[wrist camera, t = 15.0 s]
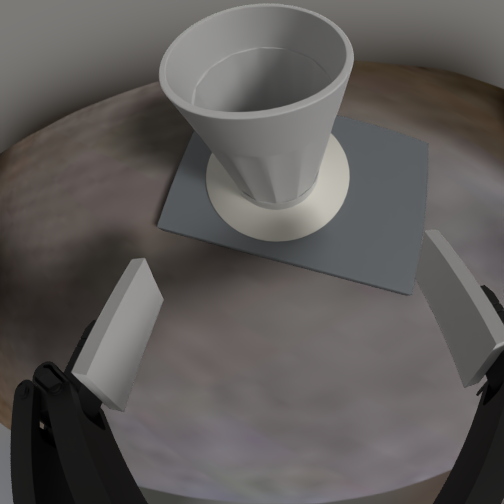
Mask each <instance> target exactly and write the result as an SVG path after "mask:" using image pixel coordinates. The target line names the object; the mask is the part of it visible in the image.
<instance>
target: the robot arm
mask: <svg viewBox="0 0 504 504" xmlns="http://www.w3.org/2000/svg"><path fill="white" fill-rule="evenodd" d="M415 279H416V281H417V282H418V284H419V286H420V288H421V290H422V292H423V294H424V296H425V298H426V300H427V302H428V304H429V306H430V308H431V310H432V312H433V314H434V316H435V318H436V320H437V323H438V325H439V327H440V329H441V331H442V334H443V336H444V338H445V340H446V343H447V345H448V347H449V350H450V352H451V355H452V357H453V360H454V362H455V365H456V367H457V370H458V372H459V375H460V378H461V381H462V383H463V386H464V388H466V387H469V386H471V385H474V384H477V383H479V382H480V380H481V379H482V378H483V377H484V375H485V374H486V377H487V379H488V380H487V381H486V383H485V384H484V385H483V386H482V387H481V388H480V390H479V391H478V392H477V394H476V395H477V396H479V394H480V393H481V392H482V391H483V392H482V396H481V399H480V402H479V405H478V408H477V411H476V414H475V417H474V420H473V422H472V425H471V428H470V430H469V433H468V435H467V438H466V440H465V443H464V445H463V447H462V449H461V452H460V454H459V456H458V458H457V460H456V462H455V464H454V467H453V469H452V471H451V472H450V474H449V477H448V478H447V480H446V482H445V484H444V486H443V487H442V490H441V491H440V493H439V494H438V496H437V498H436V499H435V501H434V503H433V504H501V503H502V500H503V498H504V308H503V307H502V305H501V304H499V300H498V299H497V297H496V296H495V294H494V293H493V292H492V291H491V290H490V289H489V288H487V287H486V286H485V285H483V286H479V284H478V283H477V281H476V280H475V278H474V277H473V275H472V274H471V272H470V271H469V270H468V268H467V267H466V265H465V264H464V263H463V261H462V260H461V259H460V257H459V256H458V255H457V253H456V252H455V251H454V249H453V248H452V247H451V246H450V244H449V243H448V242H447V240H446V239H445V238H444V237H443V236H442V234H441V233H440V232H439V231H438V229H436V230H425V231H424V235H423V240H422V245H421V250H420V255H419V260H418V264H417V269H416V273H415ZM163 300H164V299H163V297H162V295H161V293H160V291H159V289H158V286H157V284H156V282H155V280H154V278H153V275H152V273H151V271H150V269H149V266H148V264H147V262H146V259H145V258H139V259H132V260H131V261H130V263H129V265H128V266H127V268H126V270H125V271H124V273H123V275H122V276H121V278H120V280H119V281H118V283H117V285H116V287H115V288H114V290H113V292H112V294H111V295H110V297H109V299H108V301H107V303H106V304H105V306H104V308H103V310H102V312H101V313H100V315H99V317H98V319H97V320H93V321H92V322H91V323H90V324H89V326H88V327H87V328H86V329H85V331H84V333H83V335H82V337H81V340H79V342H78V344H77V347H76V348H75V350H74V352H73V354H72V356H71V359H70V361H69V363H68V365H67V367H66V369H65V371H64V373H63V372H62V371H61V370H60V369H59V368H58V367H57V366H56V365H55V364H54V363H53V362H48V361H47V362H45V363H42V364H41V365H40V366H38V368H37V369H36V370H35V372H34V375H33V381H30V380H24V381H22V382H21V383H20V384H19V385H18V386H17V388H16V390H15V394H14V402H13V412H12V425H11V481H12V493H13V502H14V504H148V503H147V501H146V500H145V498H144V497H143V495H142V493H141V491H140V489H139V488H138V486H137V484H136V482H135V480H134V478H133V476H132V474H131V473H130V471H129V469H128V467H127V465H126V463H125V460H124V458H123V456H122V454H121V452H120V450H119V448H118V445H117V443H116V441H115V439H114V436H113V434H112V431H111V429H110V427H109V424H108V422H107V419H106V416H105V414H104V412H103V410H102V409H101V408H100V407H101V404H102V402H103V403H104V404H105V405H106V406H107V407H108V408H109V409H113V410H118V411H123V412H124V411H125V408H126V405H127V402H128V399H129V395H130V392H131V389H132V386H133V383H134V380H135V377H136V374H137V371H138V368H139V365H140V362H141V359H142V357H143V354H144V351H145V348H146V345H147V343H148V340H149V337H150V334H151V332H152V329H153V326H154V324H155V321H156V318H157V316H158V313H159V310H160V308H161V305H162V303H163ZM36 385H37V386H36ZM40 422H42V423H43V424H44V429H42V428H40Z"/></svg>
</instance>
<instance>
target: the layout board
mask: <svg viewBox="0 0 504 504" xmlns="http://www.w3.org/2000/svg"><path fill="white" fill-rule="evenodd" d="M427 182H428V143H426V142H424V141H421V140H418V139H415V138H413V137H410V136H407V135H404V134H401V133H398V132H395V131H392V130H389V129H386V128H382V127H379V126H376V125H372V124H369V123H365V122H362V121H358V120H354V119H350V118H346V117H342V116H338V115H337V116H336V118H335V120H334V124H333V127H332V130H331V134H330V137H329V140H328V143H327V146H326V150H325V153H324V156H323V159H322V162H321V165H320V169H319V174H318V180H317V183H316V186H315V188H314V190H313V191H312V193H311V194H310V195H309V196H308V197H307V198H306V199H305V200H304V201H302V202H301V203H299V204H297V205H295V206H293V207H290V208H287V209H281V210H271V209H265V208H261V207H259V206H256V205H254V204H253V203H251V202H250V201H248V200H247V199H246V198H245V197H244V196H243V195H242V194H241V192H240V191H239V189H238V187H237V185H236V183H235V182H234V180H233V179H232V178H231V176H230V175H229V174H228V172H227V171H226V170H225V168H224V167H223V166H222V164H221V163H220V162H219V161H218V159H217V158H216V157H215V155H214V154H213V153H212V151H211V150H210V149H209V147H208V146H207V145H206V144H205V142H204V141H203V140H202V138H201V137H200V136H199V135H198V134H197V132H196V131H195V130H194V132H193V134H192V136H191V139H190V141H189V143H188V146H187V148H186V150H185V153H184V155H183V158H182V160H181V163H180V165H179V168H178V170H177V173H176V175H175V178H174V181H173V183H172V186H171V188H170V191H169V194H168V197H167V199H166V202H165V205H164V208H163V211H162V213H161V216H160V219H159V222H158V225H157V227H158V228H160V229H161V230H163V231H167V232H170V233H174V234H178V235H182V236H185V237H189V238H193V239H196V240H200V241H204V242H208V243H211V244H215V245H219V246H222V247H226V248H230V249H234V250H237V251H241V252H245V253H248V254H252V255H256V256H260V257H263V258H267V259H271V260H275V261H278V262H282V263H286V264H290V265H293V266H297V267H301V268H304V269H308V270H312V271H316V272H319V273H323V274H327V275H331V276H334V277H338V278H342V279H346V280H350V281H353V282H357V283H361V284H365V285H368V286H372V287H376V288H380V289H383V290H387V291H391V292H395V293H399V294H402V295H406V296H407V295H412V293H413V289H414V284H415V273H416V269H417V264H418V260H419V255H420V250H421V243H422V236H423V228H424V219H425V209H426V198H427Z"/></svg>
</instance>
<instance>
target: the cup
mask: <svg viewBox="0 0 504 504" xmlns="http://www.w3.org/2000/svg"><path fill="white" fill-rule="evenodd" d="M353 61H354V55H353V49H352V45H351V43H350V41H349V39H348V37H347V36H346V35H345V33H344V32H343V31H342V30H341V29H340V28H339V27H338V26H337V25H336V24H334V23H333V22H332V21H330V20H329V19H327V18H325V17H324V16H322V15H320V14H317V13H315V12H313V11H310V10H307V9H304V8H300V7H296V6H290V5H283V4H252V5H244V6H239V7H235V8H230V9H227V10H224V11H221V12H218V13H215V14H213V15H210V16H208V17H206V18H204V19H202V20H200V21H199V22H197V23H195V24H194V25H192V26H191V27H189V28H188V29H187V30H185V31H184V32H183V33H182V34H181V35H179V36H178V37H177V38H176V39H175V40H174V42H173V43H172V44H171V45H170V46H169V48H168V49H167V51H166V52H165V54H164V56H163V58H162V61H161V64H160V68H159V81H160V85H161V88H162V90H163V92H164V93H165V95H166V96H167V97H168V99H169V100H170V101H171V102H172V103H173V105H174V106H175V107H176V108H177V109H178V111H179V112H180V113H181V114H182V115H183V117H184V118H185V119H186V120H187V121H188V123H189V124H190V125H191V126H192V128H193V129H194V130H195V131H196V132H197V134H198V135H199V136H200V137H201V138H202V140H203V141H204V142H205V144H206V145H207V146H208V147H209V149H210V150H211V151H212V153H213V154H214V155H215V157H216V158H217V159H218V161H219V162H220V163H221V164H222V166H223V167H224V168H225V170H226V171H227V172H228V174H229V175H230V176H231V178H232V179H233V180H234V182H235V183H236V185H237V187H238V189H239V191H240V192H241V194H242V195H243V196H244V197H245V198H246V199H247V200H248V201H250V202H251V203H253V204H254V205H256V206H259V207H261V208H265V209H271V210H281V209H287V208H290V207H293V206H295V205H297V204H299V203H301V202H302V201H304V200H305V199H306V198H307V197H308V196H309V195H310V194H311V193H312V191H313V190H314V188H315V186H316V183H317V180H318V174H319V169H320V165H321V162H322V159H323V156H324V153H325V150H326V146H327V143H328V140H329V137H330V134H331V130H332V127H333V124H334V120H335V118H336V116H337V113H338V110H339V107H340V104H341V101H342V98H343V95H344V92H345V89H346V85H347V82H348V79H349V76H350V73H351V70H352V66H353Z"/></svg>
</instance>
